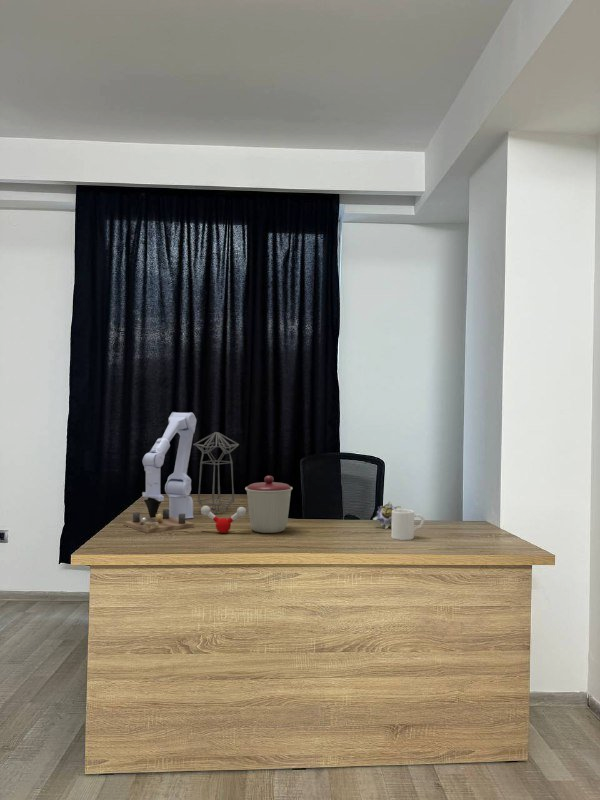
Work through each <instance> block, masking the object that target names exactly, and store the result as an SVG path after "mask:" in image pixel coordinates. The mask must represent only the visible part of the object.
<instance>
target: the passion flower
mask: <svg viewBox="0 0 600 800" xmlns="http://www.w3.org/2000/svg"><path fill="white" fill-rule="evenodd" d="M377 509H378V510H377V511H376V515H375V516H374V517H373V518H372V520H373V521H377V520H378V521H379V527H384V530H387V529H389V527H390V526H392V510H396V509H402V508H401V505H398V506H394V505H393V503H392V502H391V501H389V502H388V503H386V504H384V505H380V506H377Z"/></svg>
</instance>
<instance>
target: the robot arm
mask: <svg viewBox="0 0 600 800" xmlns="http://www.w3.org/2000/svg"><path fill="white" fill-rule="evenodd" d="M196 425H197V418H196V416H195V414H194V413H193V412H176V411H172V412H171V414H170V415H169V417H168V425H167V427H166V429H165V431H164V433H163V435H162V437H159V438H157V440H156V441H155V443H154V445H153V446H152V447H151V448H150V450H149V452H146V453H145V454H144V456H143V458H142V460H141V461H142V465H143V467H144V469H143V470H144V472H145V491H142V493H141V495H142V498H146V499H144V503H145V505H146V507H147V512H148V516H149V519H151V518H156V513H158V510H159V507H160V506H161V504H162V502H164V501H165V500H164V499H165V496H164V495H163V494H161V467H162V466H163V465H164V461H165V457H166V456H165V455H167V452H168V451H169V449H170V447H171V444H170V442H171V441H172V439H173V438H174V437H175V435H176V434H178V435H179V440H178V447H177V451H176V452H177V453H176V458H175V465H174V470H173V473H171V474H169V476H168V477H167V481H166V483H165V485H164V492H165V494H166V495H167V497H168V498H169V499H168V500H169V501H168V503H169V504H168V507H169V508H168V509H169V516H170V517H173V518H177V519H179V514H185V520H186V519H192V518H193V519H194V518H195V516H194V500H193V497H192V496H190V494H191V493H192V492H191V491H192V479H191V477H190V476H189V475H188V468H189V461H190V457H191V451H192V450H191V449H192V445H193V438H194V434H195V431H196Z"/></svg>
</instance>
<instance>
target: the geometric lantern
mask: <svg viewBox="0 0 600 800" xmlns="http://www.w3.org/2000/svg"><path fill="white" fill-rule="evenodd" d="M226 439H227V440H228V441H229V442H232V443H231V444H230V443H229V442H228V441H227V440H226ZM205 440H206V441H205ZM203 441H205V442H204V444H202V442H203ZM214 441H215V442H214ZM200 443H201V444H200ZM192 445H193V446H195V447H197V449H198V450H199V451H201V457H200V462H199V466H200V467H199V480H198V481H199V482H198V494H197V495H198V496H197V503H199V505H201V506H202V507H203V506H204V505H203V504H208V505H207V506H208V507H210V506H213V507H210V509H215V510H216V509H218V510H217V511H212V512H213V514H220V513H219V512H221V513H224V511H225V512H228V511H229V509H228V507H230V506H231V505H232V504H233V503H235V490H234V489H235V488H234V467H233V464H234V463H233V458H232V455H231V453H232V452H233V451H234V450H235V449H237V448H238V447H239V445H240V444H239V443H238V442H236V441H235V440H233V439H230V438H229V437H227V436H226V435H224V434H223V433H220V432H217V431H215V432H214V431H213V433H211V434H209V435H207V436H206V437H204V438H202V439H200V440H199V441H197V442H195V443H192ZM210 445H211V446H210ZM204 448H205V450H204ZM216 448H220V449H221V451H222V453H221V454H220V456H219V458H218V459H217V460H216V458H215V457H214V456H213V454H212V451H213V450H214V449H216ZM227 449H229V450H227ZM205 454H207V455H208V457H209V459H210V460H205V461H203V459H204V456H205ZM226 454H227V455H229V461H228V460H222V459H223V458H224V456H225V455H226ZM211 456H212V457H211ZM212 458H213V459H212ZM210 462H211V463H210ZM216 462H217V463H216ZM220 462H221V463H220ZM203 464H204V465H206V464H207V465H213V473H212V475H213V476H212V477H213V478H212V493H211V497H209V498H208V497H207V498H202V499H200V498H201V482H202V473H203ZM226 464H230V473H231V491H232V492H231V495H232V496H231V497H232V498H222V497H221V485H220V481H221V480H220V465H226ZM216 466H217V497H215V483H216V482H215V476H216ZM207 500H211V502H207ZM215 500H216V502H215ZM221 500H224V501H225V502H224V501H223V502H221ZM202 503H203V504H202ZM226 504H227V505H226ZM220 506H221V507H220ZM219 509H220V510H219Z"/></svg>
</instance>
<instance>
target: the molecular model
mask: <svg viewBox="0 0 600 800" xmlns="http://www.w3.org/2000/svg"><path fill="white" fill-rule="evenodd" d="M211 509H212V508H210V506H208V505H203V506H202V507H201V508H200V513H201V515H203V516H208V517H209V519H211V520H212V521H213V522H214V523H215V528H216V531H218V532H219V533H220V534H226V533H228V532H229V531H230V529H231V524H232V523H233V522H234V521H235V520H237V519H238V518H239V517H241V518H242V517H245V516H246V514H247V512H248V511H247V508H245V507H244V506H238V508H237V509H236V512H235V513H234V514H233V515H231V516H230V517H228V518H224V517H222V518H219V517H218V516H217V515H215V513H212V512H213V511H212V510H211Z"/></svg>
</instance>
